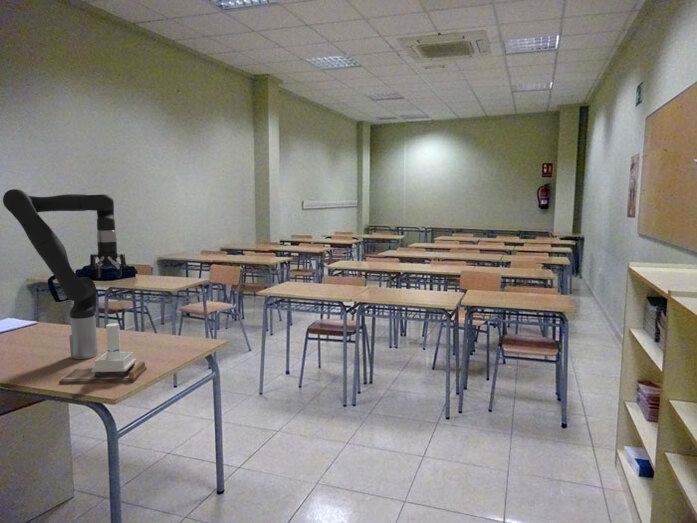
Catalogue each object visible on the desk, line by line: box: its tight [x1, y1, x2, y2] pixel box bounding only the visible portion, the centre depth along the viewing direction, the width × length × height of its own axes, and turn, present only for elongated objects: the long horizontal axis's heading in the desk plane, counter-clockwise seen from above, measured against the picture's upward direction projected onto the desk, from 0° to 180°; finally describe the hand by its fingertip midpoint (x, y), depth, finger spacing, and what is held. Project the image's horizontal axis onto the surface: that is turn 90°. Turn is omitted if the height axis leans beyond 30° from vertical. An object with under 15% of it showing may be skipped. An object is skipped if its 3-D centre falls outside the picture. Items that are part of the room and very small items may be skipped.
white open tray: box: [91, 351, 138, 378], centre depth 186 cm, size 12×12×6 cm
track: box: [58, 361, 147, 385], centre depth 186 cm, size 26×14×3 cm, turn 94°
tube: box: [105, 322, 122, 360], centre depth 185 cm, size 4×4×15 cm
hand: (108, 277), depth 218 cm, fingers open, 8 cm apart
